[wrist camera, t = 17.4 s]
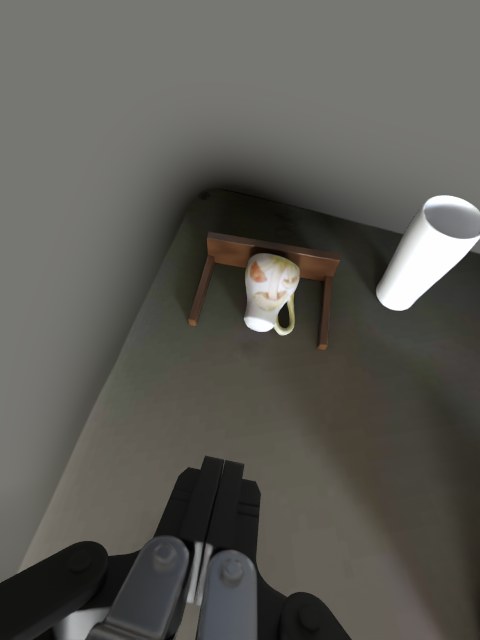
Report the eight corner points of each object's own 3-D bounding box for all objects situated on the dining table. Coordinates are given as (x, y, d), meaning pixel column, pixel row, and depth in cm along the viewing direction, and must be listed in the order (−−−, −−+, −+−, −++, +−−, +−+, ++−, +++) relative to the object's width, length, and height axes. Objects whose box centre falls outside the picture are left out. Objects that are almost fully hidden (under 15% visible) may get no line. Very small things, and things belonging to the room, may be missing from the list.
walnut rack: (188, 324, 45) (184, 304, 41) (210, 255, 51) (208, 231, 47) (324, 350, 44) (335, 332, 40) (330, 276, 50) (340, 253, 46)
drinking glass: (371, 272, 51) (421, 188, 38) (418, 283, 50) (485, 201, 37) (366, 309, 47) (419, 232, 34) (416, 322, 47) (490, 248, 34)
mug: (229, 336, 45) (225, 264, 40) (256, 304, 53) (256, 240, 48) (284, 348, 42) (288, 273, 37) (304, 312, 50) (309, 246, 45)
